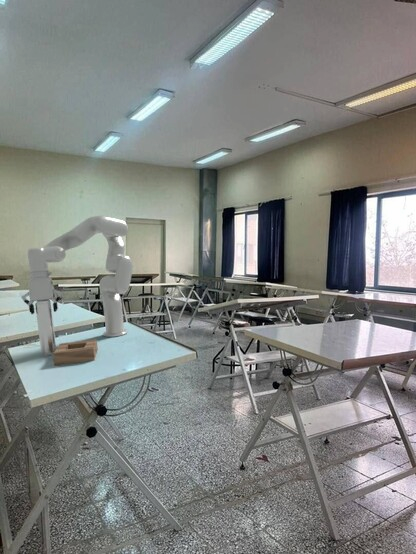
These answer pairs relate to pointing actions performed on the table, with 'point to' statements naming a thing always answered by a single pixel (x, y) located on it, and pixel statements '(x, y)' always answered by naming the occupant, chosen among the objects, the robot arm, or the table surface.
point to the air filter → (45, 327)
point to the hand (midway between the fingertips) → (44, 312)
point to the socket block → (75, 352)
